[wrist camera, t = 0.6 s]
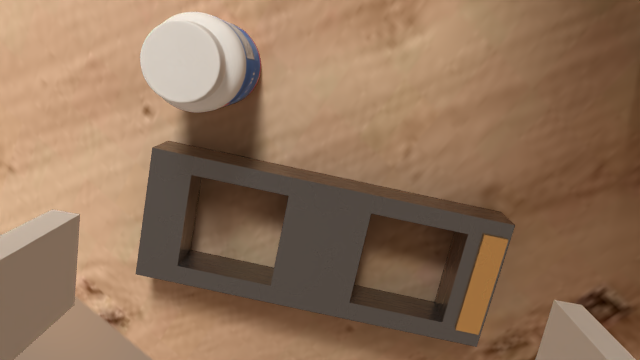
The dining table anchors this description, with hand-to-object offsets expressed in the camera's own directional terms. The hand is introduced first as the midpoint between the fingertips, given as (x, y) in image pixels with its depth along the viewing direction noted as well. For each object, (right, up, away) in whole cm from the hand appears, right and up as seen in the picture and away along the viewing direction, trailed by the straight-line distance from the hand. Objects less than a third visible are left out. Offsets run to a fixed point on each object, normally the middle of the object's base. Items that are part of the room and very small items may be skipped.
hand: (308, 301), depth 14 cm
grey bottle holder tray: (0, -1, +22) cm, 23 cm away
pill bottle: (-6, +11, +20) cm, 24 cm away
